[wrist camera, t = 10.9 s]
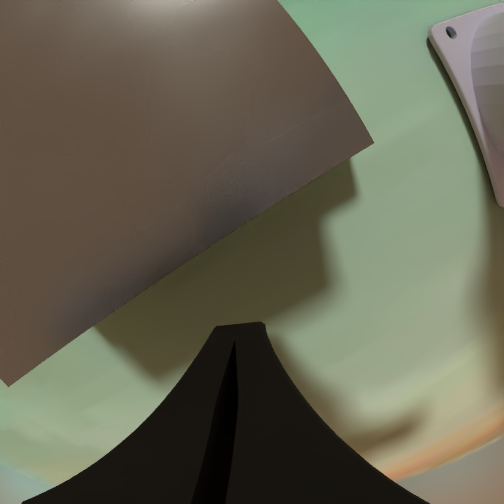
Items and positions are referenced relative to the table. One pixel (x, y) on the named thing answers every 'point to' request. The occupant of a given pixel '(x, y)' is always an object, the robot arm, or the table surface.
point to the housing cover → (144, 148)
